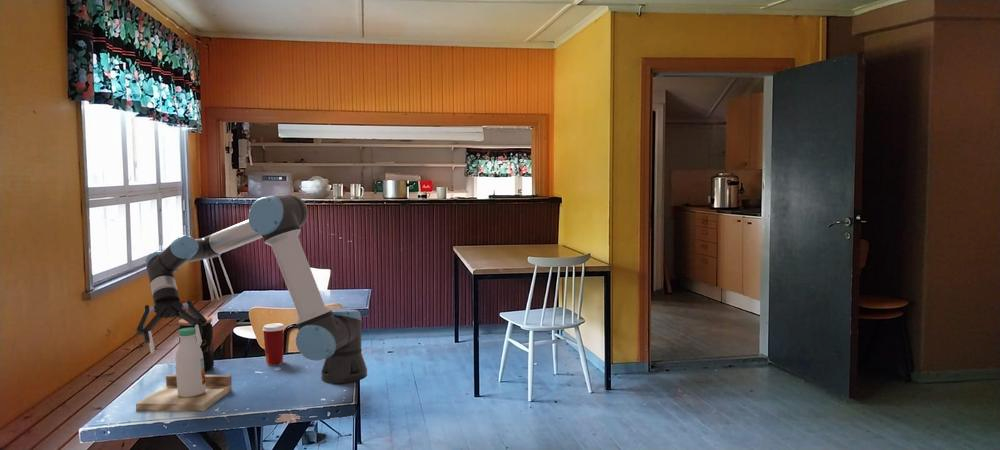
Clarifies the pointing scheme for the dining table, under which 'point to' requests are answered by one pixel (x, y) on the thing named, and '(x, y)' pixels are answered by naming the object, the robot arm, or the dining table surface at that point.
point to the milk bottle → (189, 365)
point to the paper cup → (274, 343)
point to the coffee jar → (203, 341)
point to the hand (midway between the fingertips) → (176, 347)
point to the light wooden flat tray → (173, 402)
